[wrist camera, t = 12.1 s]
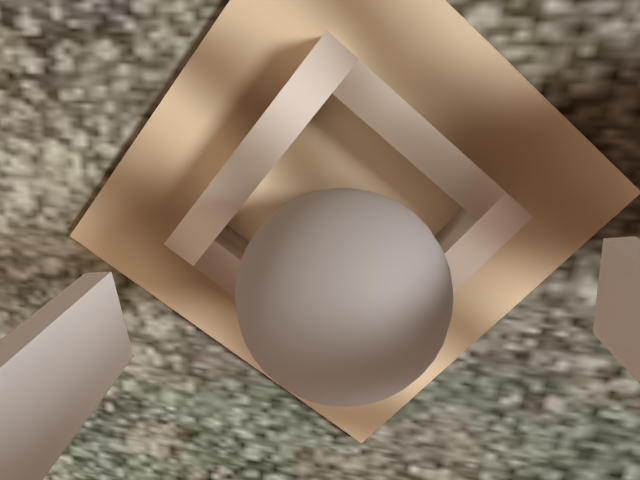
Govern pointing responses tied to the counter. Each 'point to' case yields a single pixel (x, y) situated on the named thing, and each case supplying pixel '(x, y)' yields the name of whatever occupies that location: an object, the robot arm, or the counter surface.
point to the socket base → (352, 163)
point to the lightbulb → (344, 297)
